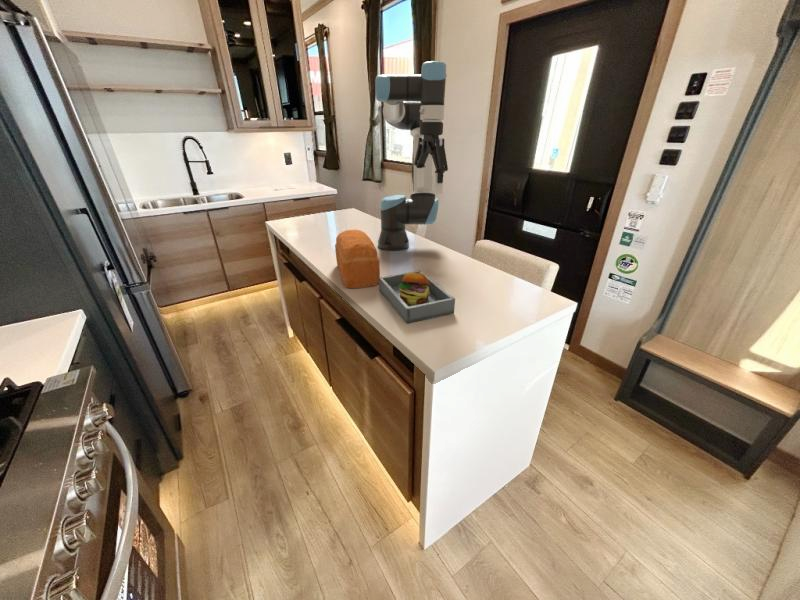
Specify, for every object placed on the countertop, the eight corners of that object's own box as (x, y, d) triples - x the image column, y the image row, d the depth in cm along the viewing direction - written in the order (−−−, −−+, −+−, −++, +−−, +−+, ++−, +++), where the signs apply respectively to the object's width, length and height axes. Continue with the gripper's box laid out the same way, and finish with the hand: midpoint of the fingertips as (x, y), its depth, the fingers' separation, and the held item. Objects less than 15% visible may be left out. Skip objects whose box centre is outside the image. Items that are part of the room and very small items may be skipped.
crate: (379, 290, 113) (378, 277, 111) (419, 282, 118) (420, 270, 116) (406, 323, 93) (406, 309, 91) (453, 313, 99) (455, 298, 97)
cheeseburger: (395, 305, 101) (396, 273, 99) (401, 297, 111) (402, 269, 109) (426, 307, 99) (428, 276, 97) (430, 299, 109) (432, 270, 107)
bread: (344, 290, 113) (340, 247, 106) (336, 264, 135) (332, 227, 128) (382, 285, 117) (381, 244, 109) (368, 260, 139) (366, 224, 131)
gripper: (405, 121, 112) (405, 185, 122) (440, 120, 91) (436, 197, 102) (424, 121, 114) (422, 184, 124) (462, 120, 94) (456, 195, 104)
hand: (428, 190), depth 113 cm, fingers open, 13 cm apart
